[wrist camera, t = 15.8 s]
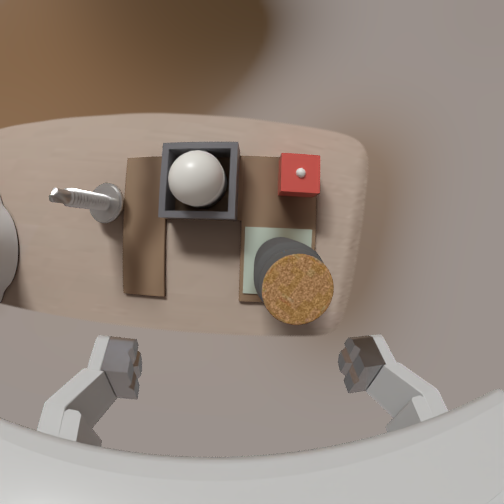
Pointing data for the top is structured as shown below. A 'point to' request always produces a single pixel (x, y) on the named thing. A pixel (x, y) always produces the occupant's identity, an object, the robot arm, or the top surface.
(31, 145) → the top surface
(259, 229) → the game board
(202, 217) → the dome collar
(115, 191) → the screw
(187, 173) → the dome cap
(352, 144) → the top surface
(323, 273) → the bottle
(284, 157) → the red die
